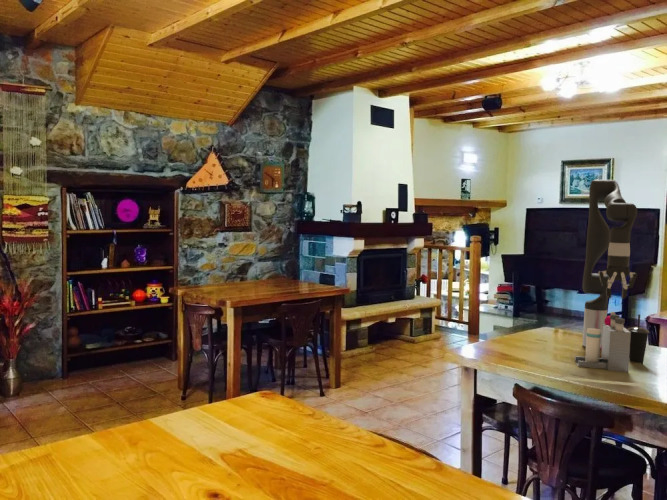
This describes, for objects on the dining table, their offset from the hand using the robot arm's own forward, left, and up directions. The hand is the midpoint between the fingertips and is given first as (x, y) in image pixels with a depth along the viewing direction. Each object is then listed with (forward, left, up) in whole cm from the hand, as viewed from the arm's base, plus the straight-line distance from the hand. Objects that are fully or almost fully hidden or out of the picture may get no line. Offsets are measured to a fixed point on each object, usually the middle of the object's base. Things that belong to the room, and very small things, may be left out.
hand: (616, 297), depth 219 cm
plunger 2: (+8, 0, -13) cm, 16 cm away
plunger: (0, 0, -13) cm, 13 cm away
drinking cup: (-9, +11, -28) cm, 31 cm away
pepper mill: (-12, +2, -28) cm, 30 cm away
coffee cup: (+4, -8, -26) cm, 28 cm away
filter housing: (+4, -5, -27) cm, 28 cm away
